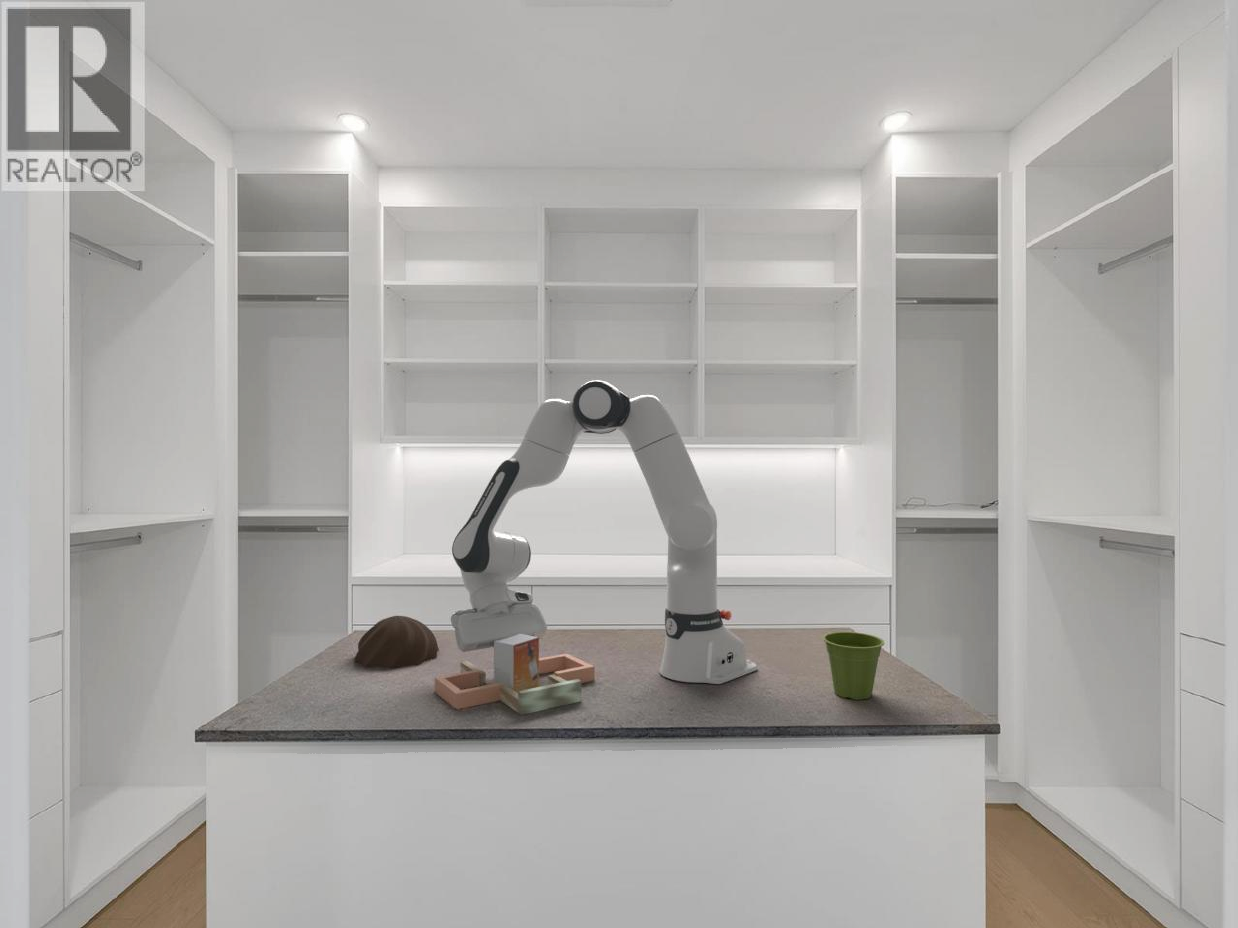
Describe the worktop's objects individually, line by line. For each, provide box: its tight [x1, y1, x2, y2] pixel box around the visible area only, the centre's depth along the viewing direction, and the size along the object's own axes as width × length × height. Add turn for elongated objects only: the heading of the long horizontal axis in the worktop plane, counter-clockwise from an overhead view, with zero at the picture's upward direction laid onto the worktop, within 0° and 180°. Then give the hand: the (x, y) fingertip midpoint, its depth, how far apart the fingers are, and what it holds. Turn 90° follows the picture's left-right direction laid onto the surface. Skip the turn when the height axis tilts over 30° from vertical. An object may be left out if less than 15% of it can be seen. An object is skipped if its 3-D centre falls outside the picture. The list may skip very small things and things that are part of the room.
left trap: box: [434, 670, 500, 710], centre depth 141 cm, size 9×12×3 cm
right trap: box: [539, 653, 596, 684], centre depth 153 cm, size 9×12×3 cm
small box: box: [493, 634, 540, 693], centre depth 144 cm, size 8×6×10 cm
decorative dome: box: [353, 615, 440, 670], centre depth 169 cm, size 19×20×10 cm
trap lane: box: [459, 660, 582, 716], centre depth 147 cm, size 13×30×4 cm, turn 34°
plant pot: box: [822, 631, 885, 701], centre depth 142 cm, size 12×12×11 cm
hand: (512, 660), depth 149 cm, fingers closed
